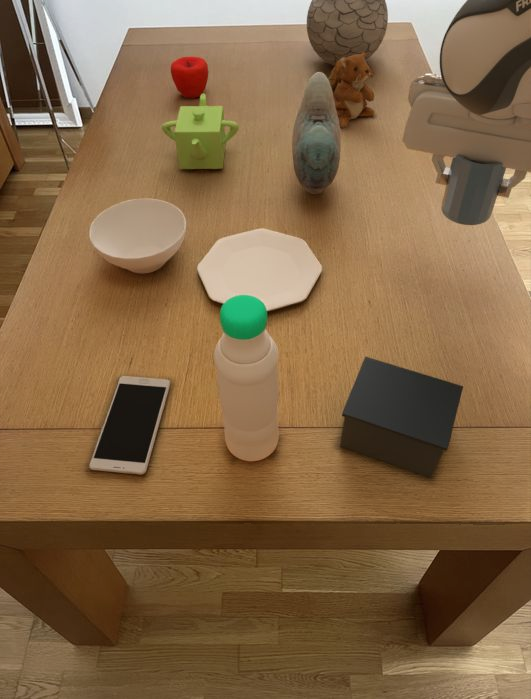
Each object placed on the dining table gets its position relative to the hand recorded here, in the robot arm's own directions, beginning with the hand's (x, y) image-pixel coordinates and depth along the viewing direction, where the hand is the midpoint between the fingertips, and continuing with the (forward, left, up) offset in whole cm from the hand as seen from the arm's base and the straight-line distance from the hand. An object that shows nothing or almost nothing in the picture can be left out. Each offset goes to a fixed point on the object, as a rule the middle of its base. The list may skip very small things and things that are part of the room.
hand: (472, 188), depth 75 cm
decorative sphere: (+41, -76, -21) cm, 89 cm away
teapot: (+54, -22, -21) cm, 62 cm away
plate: (+29, +6, -21) cm, 36 cm away
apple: (+70, -47, -21) cm, 87 cm away
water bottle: (+17, +36, -21) cm, 45 cm away
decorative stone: (+29, -21, -21) cm, 41 cm away
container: (0, +28, -20) cm, 35 cm away
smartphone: (+33, +40, -20) cm, 56 cm away
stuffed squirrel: (+33, -52, -21) cm, 65 cm away
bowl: (+49, +10, -21) cm, 54 cm away
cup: (0, 0, -4) cm, 4 cm away
